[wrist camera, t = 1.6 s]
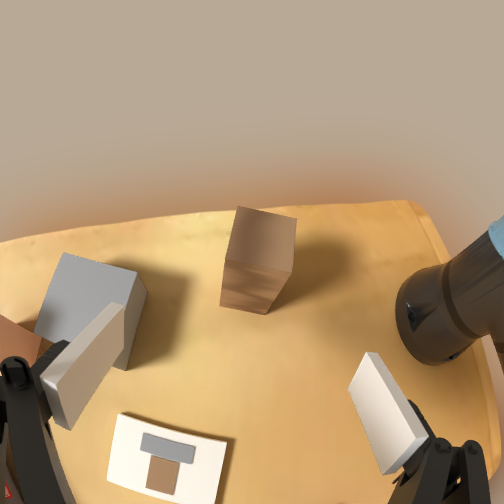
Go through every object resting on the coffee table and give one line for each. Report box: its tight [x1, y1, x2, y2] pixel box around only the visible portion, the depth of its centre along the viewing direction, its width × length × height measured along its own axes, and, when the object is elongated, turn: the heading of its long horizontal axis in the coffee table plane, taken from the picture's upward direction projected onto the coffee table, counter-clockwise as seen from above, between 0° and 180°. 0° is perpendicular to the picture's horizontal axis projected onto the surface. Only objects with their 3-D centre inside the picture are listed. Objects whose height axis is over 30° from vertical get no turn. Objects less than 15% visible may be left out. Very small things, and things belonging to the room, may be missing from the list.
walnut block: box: [220, 206, 297, 315], centre depth 29 cm, size 6×6×12 cm
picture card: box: [107, 413, 227, 504], centre depth 22 cm, size 12×9×1 cm
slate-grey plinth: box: [33, 252, 148, 371], centre depth 27 cm, size 10×10×6 cm
